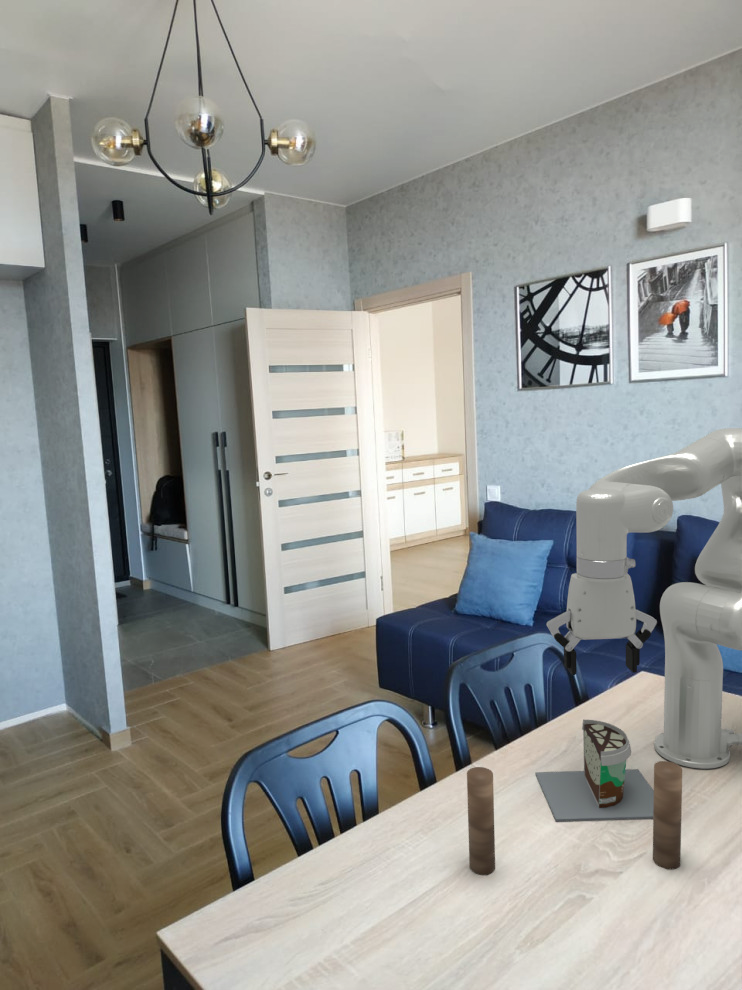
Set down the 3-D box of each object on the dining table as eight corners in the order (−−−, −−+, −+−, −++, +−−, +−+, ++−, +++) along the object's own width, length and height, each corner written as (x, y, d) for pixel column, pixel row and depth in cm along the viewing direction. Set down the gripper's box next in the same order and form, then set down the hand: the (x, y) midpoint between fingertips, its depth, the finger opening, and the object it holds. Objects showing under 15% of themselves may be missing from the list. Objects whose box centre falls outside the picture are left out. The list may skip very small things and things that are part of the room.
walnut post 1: (492, 857, 101) (490, 766, 99) (497, 874, 97) (495, 780, 95) (467, 858, 101) (465, 767, 99) (471, 875, 97) (468, 781, 95)
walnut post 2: (673, 852, 100) (675, 760, 99) (684, 868, 97) (686, 774, 95) (648, 853, 100) (650, 761, 99) (658, 869, 97) (660, 774, 95)
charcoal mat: (638, 771, 122) (638, 769, 122) (671, 818, 108) (671, 815, 108) (535, 774, 123) (535, 772, 122) (556, 821, 109) (555, 819, 109)
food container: (641, 813, 109) (642, 753, 108) (601, 813, 110) (601, 753, 108) (617, 772, 122) (618, 717, 120) (582, 772, 122) (582, 718, 121)
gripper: (646, 559, 114) (646, 660, 117) (541, 564, 114) (542, 664, 117) (665, 570, 107) (664, 677, 109) (552, 575, 107) (553, 682, 109)
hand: (601, 670), depth 113 cm, fingers open, 9 cm apart
